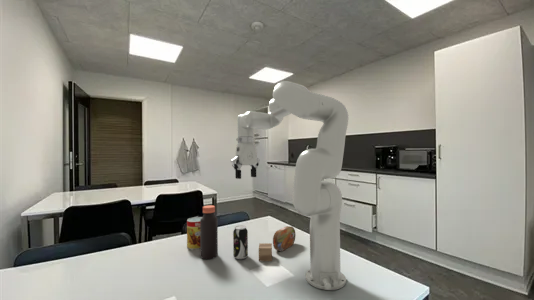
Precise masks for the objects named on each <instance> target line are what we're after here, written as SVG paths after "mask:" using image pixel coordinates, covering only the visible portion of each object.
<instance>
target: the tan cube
mask: <svg viewBox="0 0 534 300" xmlns="http://www.w3.org/2000/svg"><path fill="white" fill-rule="evenodd" d="M272 258H273V242H272V243H270V242H269V243H268V242H267V243H266V242H265V243H264V242H263V243H260V242H259V245H258V262H272V261H273V259H272Z"/></svg>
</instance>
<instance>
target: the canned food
mask: <svg viewBox="0 0 534 300" xmlns="http://www.w3.org/2000/svg"><path fill="white" fill-rule="evenodd" d="M202 217H203V216H194V217H189V218H187V220H186V247H187V249H190V250H199V249H200V220H201V218H202Z"/></svg>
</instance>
